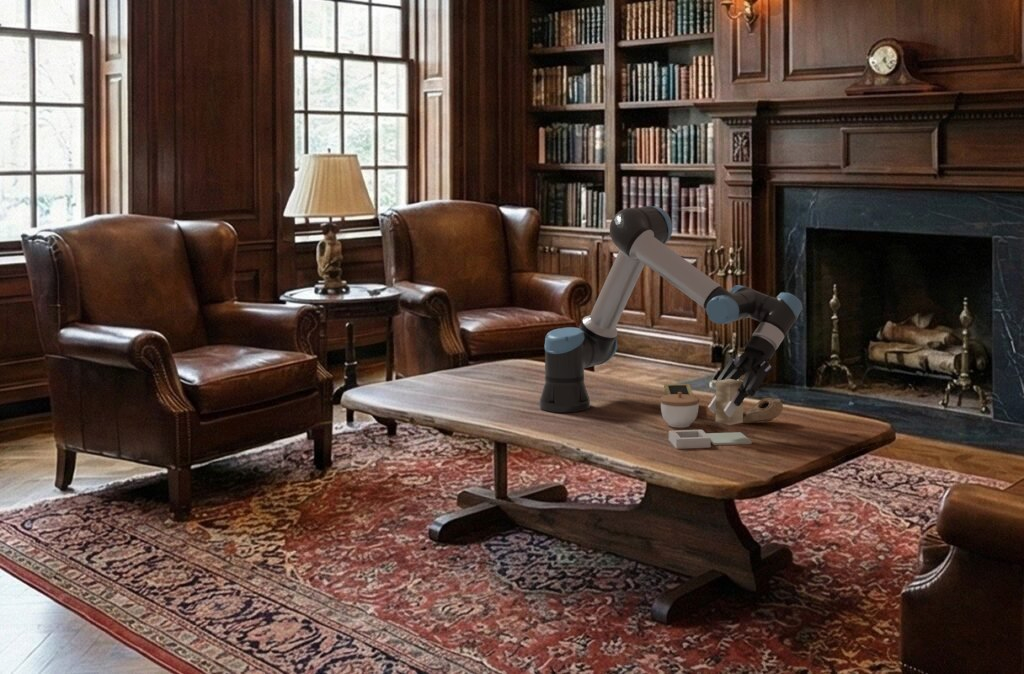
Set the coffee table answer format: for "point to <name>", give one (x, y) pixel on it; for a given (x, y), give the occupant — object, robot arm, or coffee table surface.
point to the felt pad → (728, 438)
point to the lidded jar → (679, 409)
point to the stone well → (689, 439)
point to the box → (677, 389)
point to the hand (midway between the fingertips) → (719, 411)
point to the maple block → (727, 401)
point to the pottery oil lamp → (763, 411)
